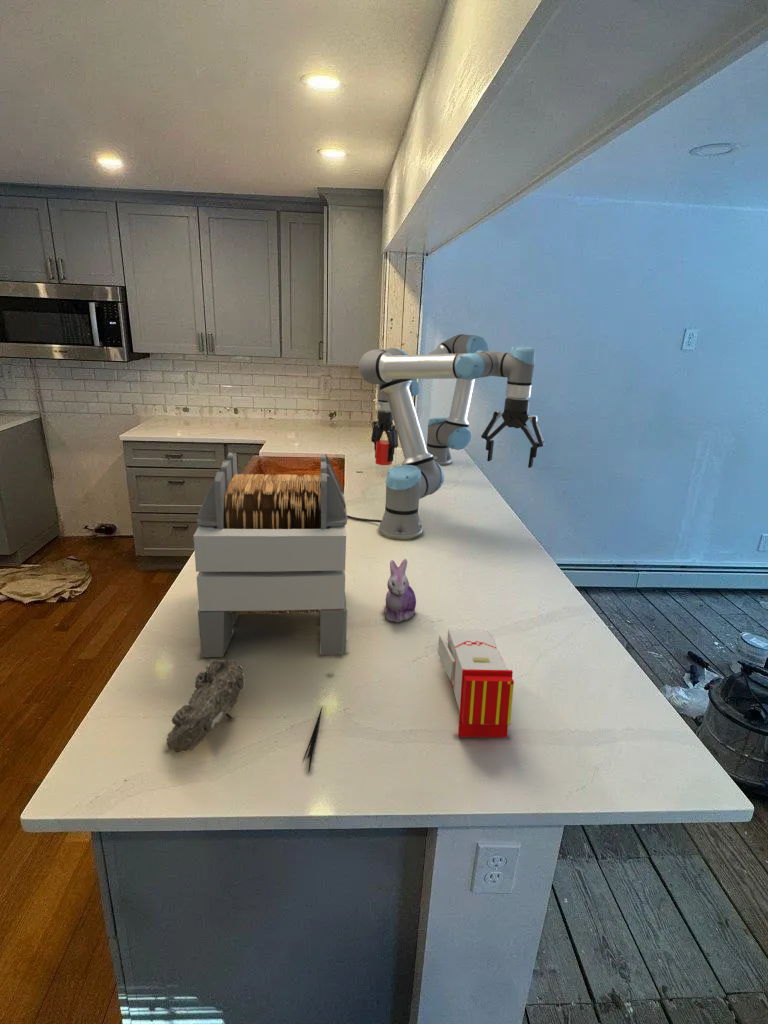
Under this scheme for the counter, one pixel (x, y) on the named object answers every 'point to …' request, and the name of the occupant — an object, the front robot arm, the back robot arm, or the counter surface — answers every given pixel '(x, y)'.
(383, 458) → the tin
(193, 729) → the fossil
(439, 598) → the counter surface
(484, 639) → the toy
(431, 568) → the counter surface
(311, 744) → the feather
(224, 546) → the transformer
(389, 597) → the figurine
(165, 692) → the counter surface
